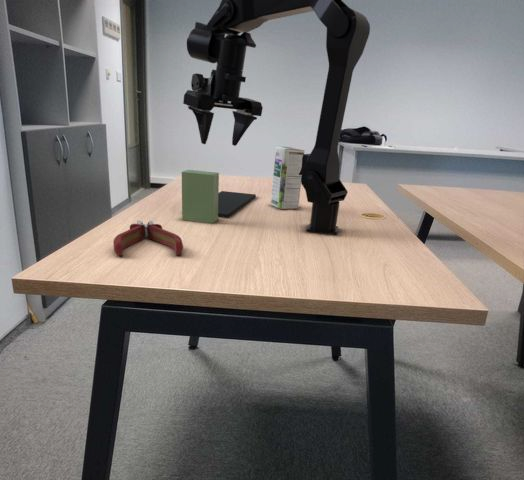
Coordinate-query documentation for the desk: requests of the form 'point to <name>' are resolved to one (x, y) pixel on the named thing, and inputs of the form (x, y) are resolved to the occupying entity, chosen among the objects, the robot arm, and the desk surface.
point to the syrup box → (287, 178)
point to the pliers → (153, 232)
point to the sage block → (200, 196)
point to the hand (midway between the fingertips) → (219, 144)
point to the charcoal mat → (232, 202)
